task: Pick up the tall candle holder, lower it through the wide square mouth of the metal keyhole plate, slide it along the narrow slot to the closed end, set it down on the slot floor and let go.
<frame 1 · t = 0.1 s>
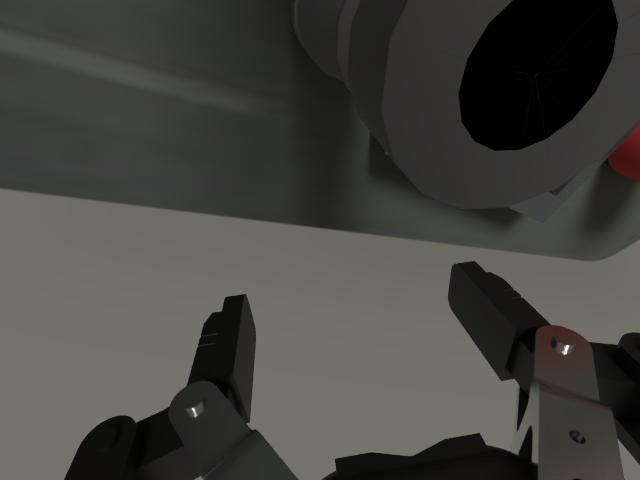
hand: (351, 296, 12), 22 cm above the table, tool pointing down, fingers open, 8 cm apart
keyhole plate: (497, 104, 32), on the table
beer can: (633, 142, 37), on the table
candle holder: (328, 13, 26), on the table
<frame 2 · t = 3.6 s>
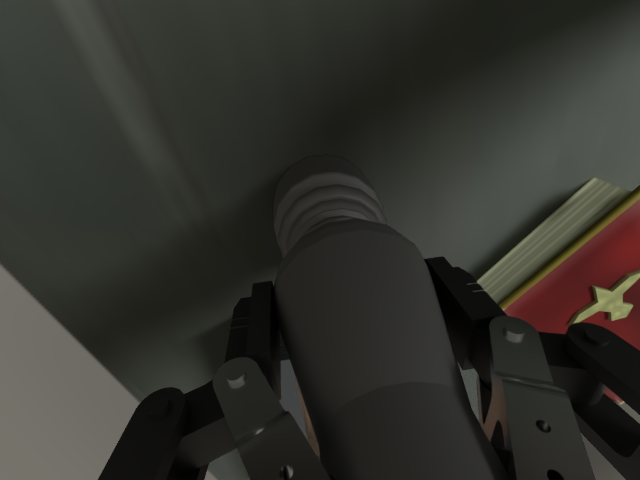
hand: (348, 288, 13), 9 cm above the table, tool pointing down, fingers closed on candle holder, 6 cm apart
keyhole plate: (345, 386, 30), on the table
hardcover book: (583, 290, 28), on the table
candle holder: (322, 201, 21), on the table, touching arm, gripper
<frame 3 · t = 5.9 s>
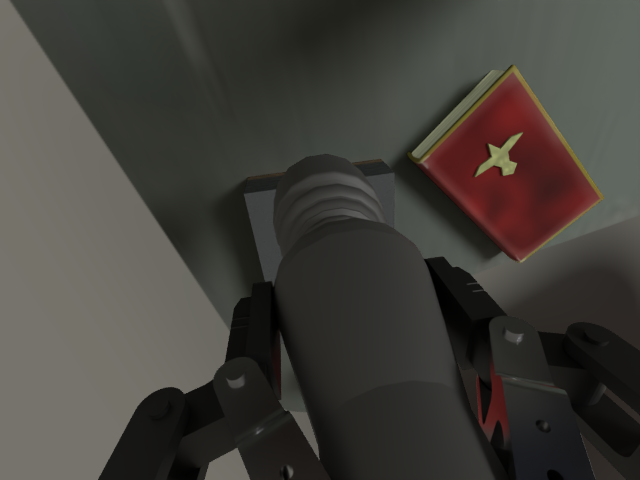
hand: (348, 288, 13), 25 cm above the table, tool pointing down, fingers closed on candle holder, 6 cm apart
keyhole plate: (324, 247, 41), on the table
hardcover book: (495, 170, 39), on the table
candle holder: (322, 201, 21), point 16 cm above the table, touching arm, gripper
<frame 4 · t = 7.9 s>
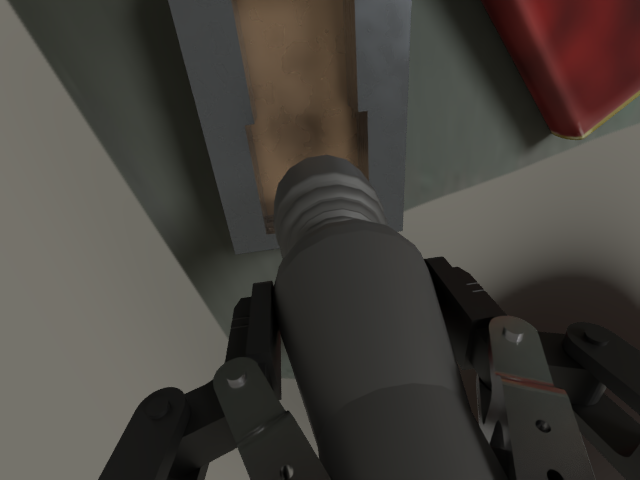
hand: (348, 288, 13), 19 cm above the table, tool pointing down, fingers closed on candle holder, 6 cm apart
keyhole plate: (302, 109, 28), on the table
candle holder: (322, 201, 21), point 10 cm above the table, touching arm, gripper
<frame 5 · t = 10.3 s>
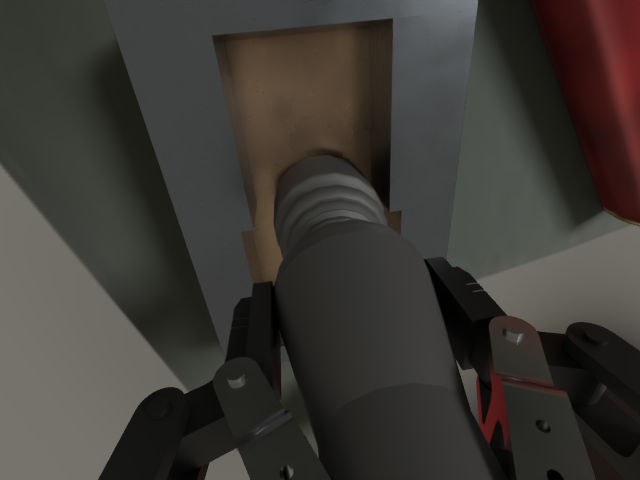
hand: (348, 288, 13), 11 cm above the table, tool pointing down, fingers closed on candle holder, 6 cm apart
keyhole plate: (313, 190, 22), on the table
candle holder: (322, 201, 21), point 2 cm above the table, touching arm, gripper
when the fingers open (10 cm above the table, at t = 12.5 s): candle holder stays where it is, resting on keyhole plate.
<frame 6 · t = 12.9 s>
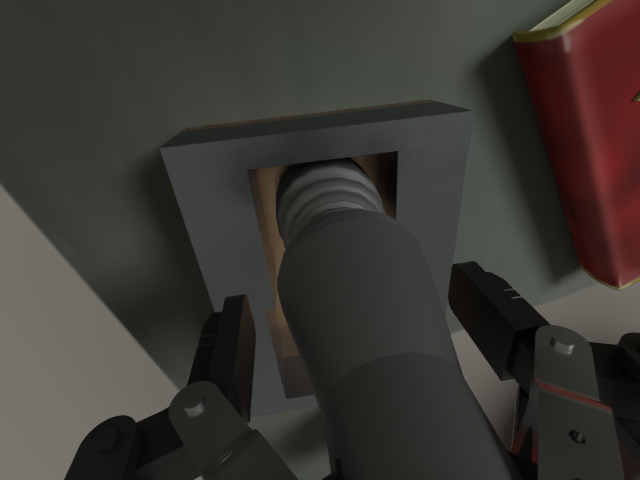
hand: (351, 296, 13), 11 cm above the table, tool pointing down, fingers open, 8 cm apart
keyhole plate: (325, 258, 25), on the table
hardcover book: (624, 125, 23), on the table
candle holder: (322, 195, 21), point 1 cm above the table, touching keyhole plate
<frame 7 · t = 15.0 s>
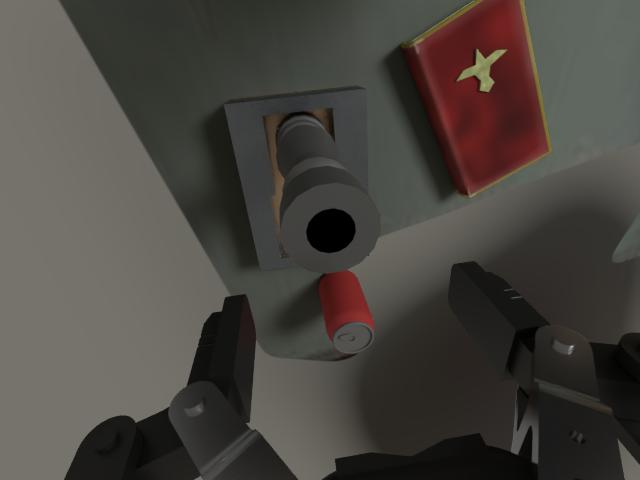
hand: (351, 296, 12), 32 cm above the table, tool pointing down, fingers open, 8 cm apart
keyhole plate: (303, 177, 43), on the table
beer can: (337, 283, 53), on the table
hardcover book: (470, 100, 41), on the table
candle holder: (300, 137, 40), point 1 cm above the table, touching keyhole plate
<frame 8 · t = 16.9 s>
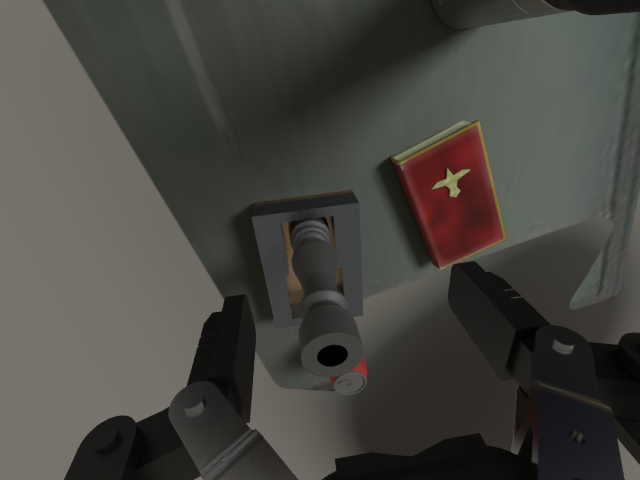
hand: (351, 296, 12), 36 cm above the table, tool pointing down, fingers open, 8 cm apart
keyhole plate: (310, 254, 54), on the table
beer can: (338, 330, 63), on the table
hardcover book: (443, 194, 52), on the table
candle holder: (308, 228, 51), point 1 cm above the table, touching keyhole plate
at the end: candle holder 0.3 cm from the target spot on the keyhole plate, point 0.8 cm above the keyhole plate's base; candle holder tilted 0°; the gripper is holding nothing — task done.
